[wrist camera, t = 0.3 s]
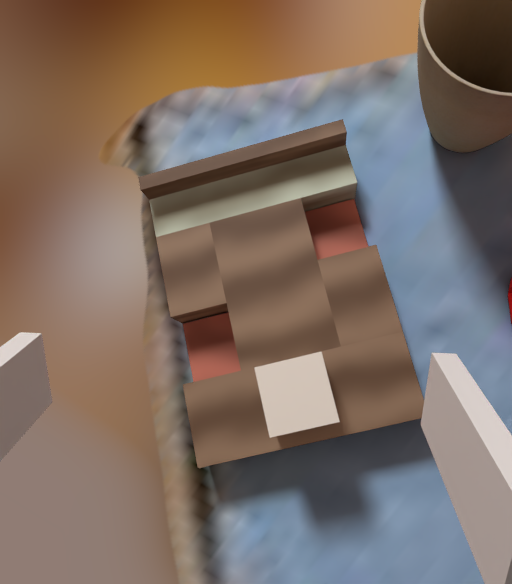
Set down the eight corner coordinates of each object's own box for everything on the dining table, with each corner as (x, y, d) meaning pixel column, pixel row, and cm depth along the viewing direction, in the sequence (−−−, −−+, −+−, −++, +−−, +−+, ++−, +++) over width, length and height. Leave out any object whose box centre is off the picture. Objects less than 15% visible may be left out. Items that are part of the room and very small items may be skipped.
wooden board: (420, 415, 47) (435, 417, 40) (208, 462, 49) (190, 472, 42) (340, 151, 54) (342, 119, 48) (159, 202, 56) (138, 177, 50)
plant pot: (399, 63, 55) (427, -65, 40) (536, 69, 53) (622, -67, 38) (386, 180, 53) (411, 89, 37) (530, 191, 50) (621, 99, 35)
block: (338, 419, 44) (339, 421, 39) (275, 433, 44) (269, 437, 40) (321, 356, 45) (321, 351, 41) (261, 370, 46) (254, 367, 41)
